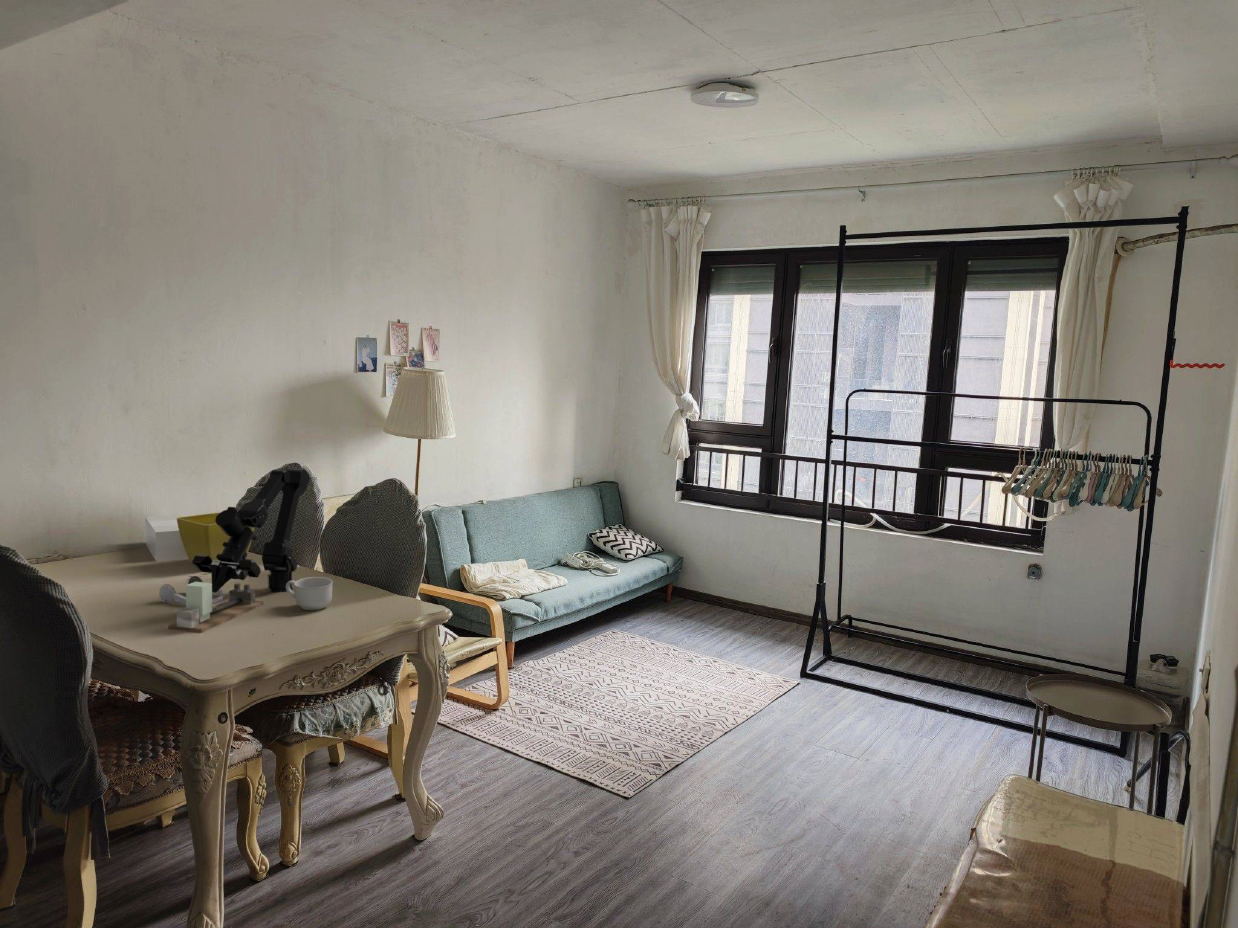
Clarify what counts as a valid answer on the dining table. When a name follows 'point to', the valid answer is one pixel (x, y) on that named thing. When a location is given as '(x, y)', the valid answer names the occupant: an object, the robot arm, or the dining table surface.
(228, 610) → the cord board
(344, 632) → the dining table surface
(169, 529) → the white rectangular box
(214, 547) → the flower pot
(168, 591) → the headphones
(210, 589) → the pale green box
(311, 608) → the teacup
